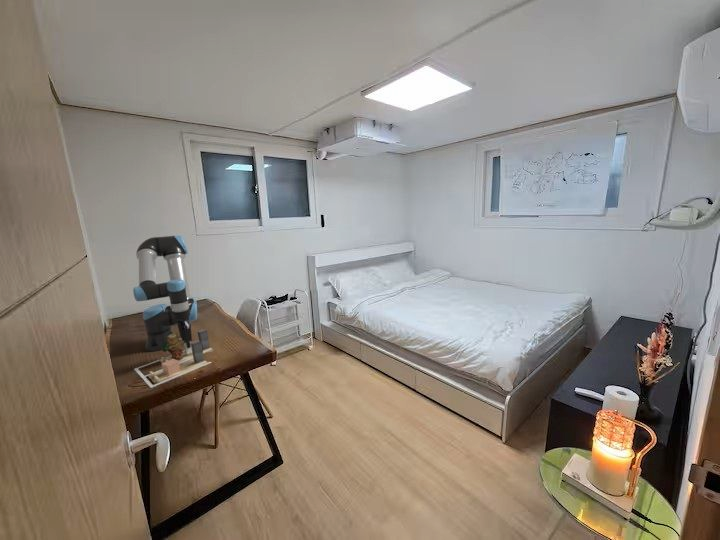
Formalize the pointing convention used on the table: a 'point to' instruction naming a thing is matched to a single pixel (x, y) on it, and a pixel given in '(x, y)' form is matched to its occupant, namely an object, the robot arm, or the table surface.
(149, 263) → the robot arm
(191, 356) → the strip
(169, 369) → the terracotta cube
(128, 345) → the table surface
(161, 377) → the strip
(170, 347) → the figurine
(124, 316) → the table surface
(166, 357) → the lane board
